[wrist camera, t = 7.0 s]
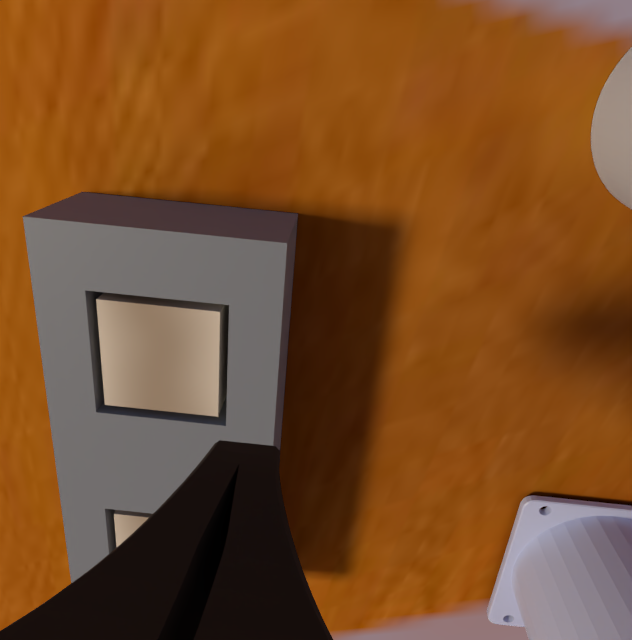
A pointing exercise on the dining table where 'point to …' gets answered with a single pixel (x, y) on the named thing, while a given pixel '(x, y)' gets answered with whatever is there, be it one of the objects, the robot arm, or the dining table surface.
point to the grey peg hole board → (159, 282)
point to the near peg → (163, 353)
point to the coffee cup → (615, 132)
